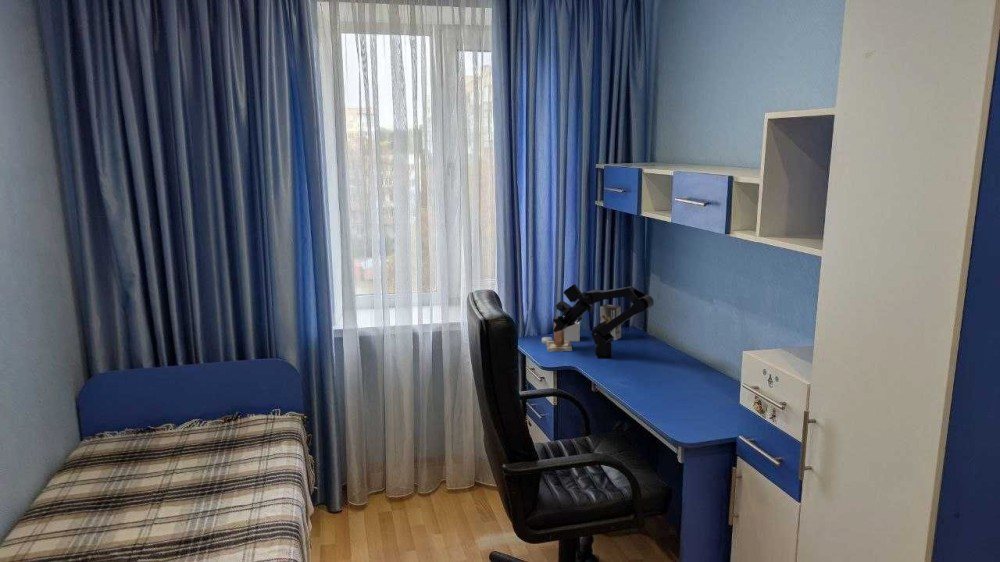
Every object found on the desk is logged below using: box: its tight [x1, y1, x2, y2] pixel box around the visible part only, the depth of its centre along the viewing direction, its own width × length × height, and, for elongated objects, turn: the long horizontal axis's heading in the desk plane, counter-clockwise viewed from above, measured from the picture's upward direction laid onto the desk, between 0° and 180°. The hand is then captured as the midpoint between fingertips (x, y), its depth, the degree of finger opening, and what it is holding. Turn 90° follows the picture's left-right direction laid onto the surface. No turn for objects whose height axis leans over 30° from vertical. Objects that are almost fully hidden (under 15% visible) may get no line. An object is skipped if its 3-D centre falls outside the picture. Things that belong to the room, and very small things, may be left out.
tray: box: [545, 340, 573, 353], centre depth 317 cm, size 11×11×2 cm
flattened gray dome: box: [541, 336, 553, 345], centre depth 326 cm, size 5×5×2 cm
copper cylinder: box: [553, 316, 564, 346], centre depth 316 cm, size 5×5×12 cm
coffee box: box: [599, 303, 622, 341], centre depth 333 cm, size 9×6×16 cm
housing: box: [564, 322, 581, 342], centre depth 331 cm, size 8×8×9 cm
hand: (556, 330), depth 317 cm, fingers closed on copper cylinder, 5 cm apart
